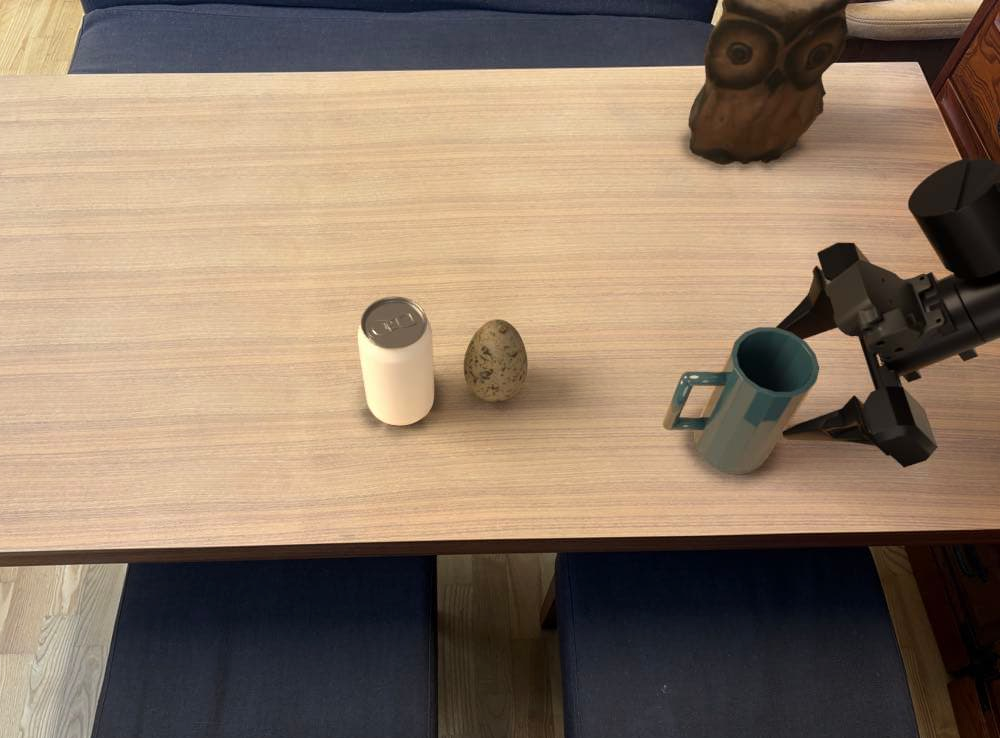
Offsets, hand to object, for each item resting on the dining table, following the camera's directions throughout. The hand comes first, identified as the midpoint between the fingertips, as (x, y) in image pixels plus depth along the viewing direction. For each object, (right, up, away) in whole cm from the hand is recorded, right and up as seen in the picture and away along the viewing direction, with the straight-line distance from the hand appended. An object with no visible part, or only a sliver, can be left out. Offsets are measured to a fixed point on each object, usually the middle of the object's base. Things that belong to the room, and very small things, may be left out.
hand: (773, 389), depth 72 cm
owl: (+7, +32, +31) cm, 45 cm away
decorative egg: (-23, 0, +10) cm, 26 cm away
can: (-32, -1, +10) cm, 34 cm away
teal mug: (-3, -5, +7) cm, 9 cm away
